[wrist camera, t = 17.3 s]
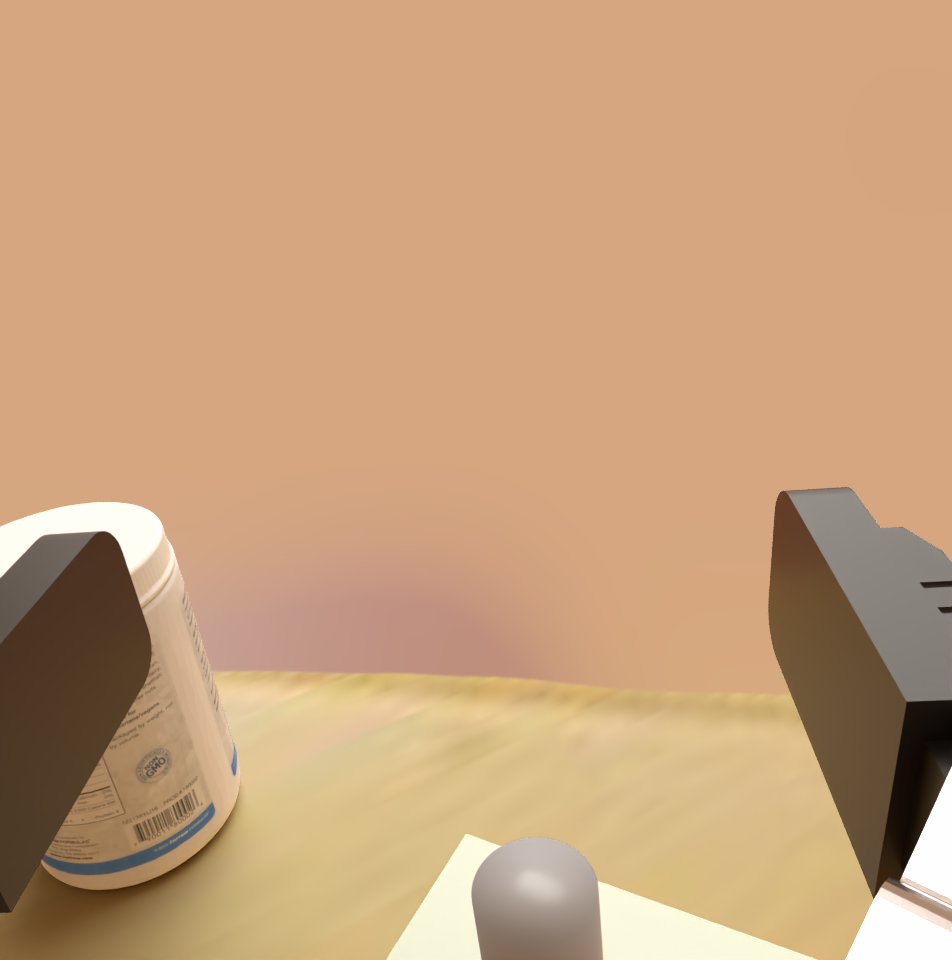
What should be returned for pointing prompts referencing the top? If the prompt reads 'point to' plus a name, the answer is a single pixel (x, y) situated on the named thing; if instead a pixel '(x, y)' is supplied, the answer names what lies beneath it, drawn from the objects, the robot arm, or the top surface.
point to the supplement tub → (144, 722)
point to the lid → (556, 914)
